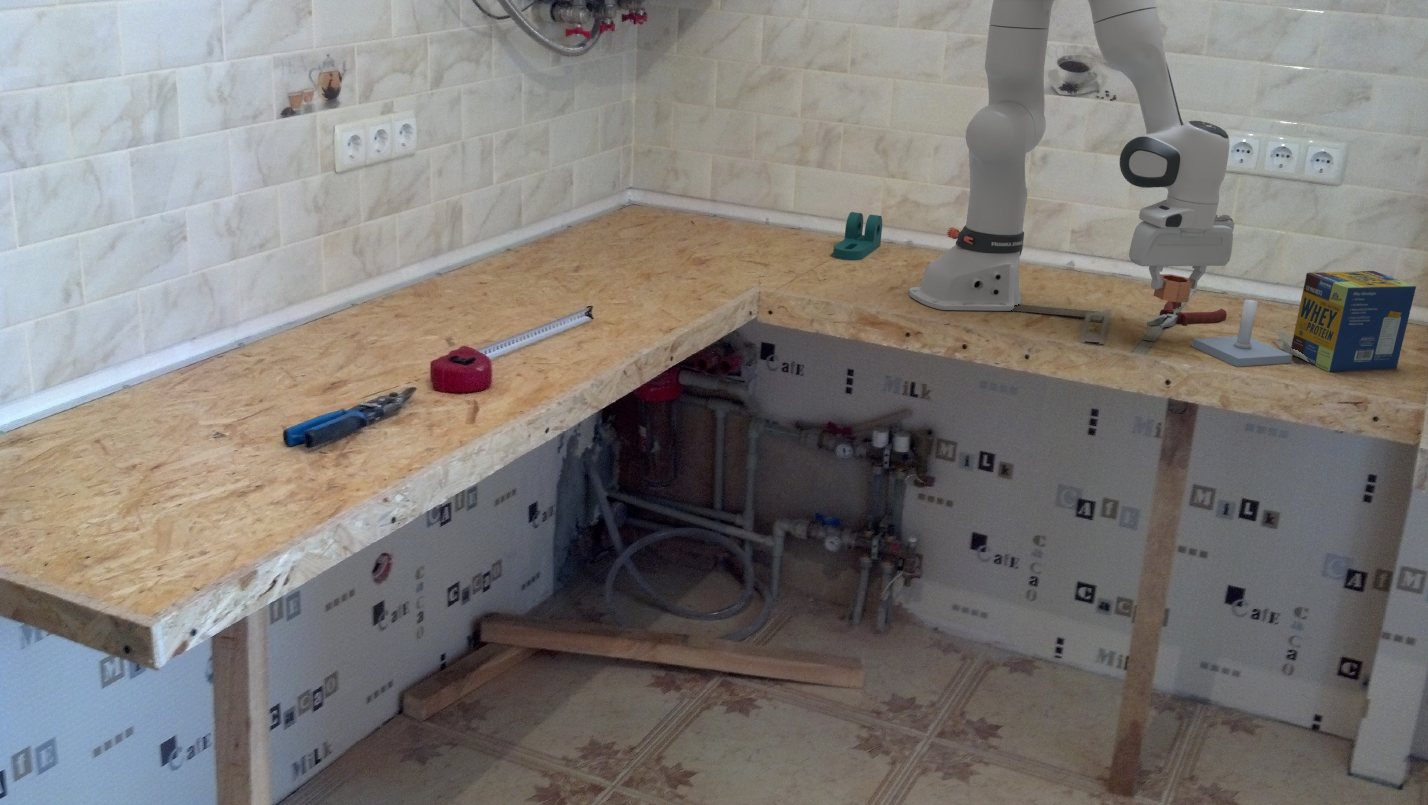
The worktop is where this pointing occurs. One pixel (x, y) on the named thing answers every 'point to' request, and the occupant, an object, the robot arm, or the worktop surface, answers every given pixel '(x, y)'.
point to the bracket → (859, 237)
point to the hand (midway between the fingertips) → (1173, 288)
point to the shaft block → (1243, 344)
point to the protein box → (1352, 320)
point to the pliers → (1185, 316)
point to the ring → (1174, 288)
